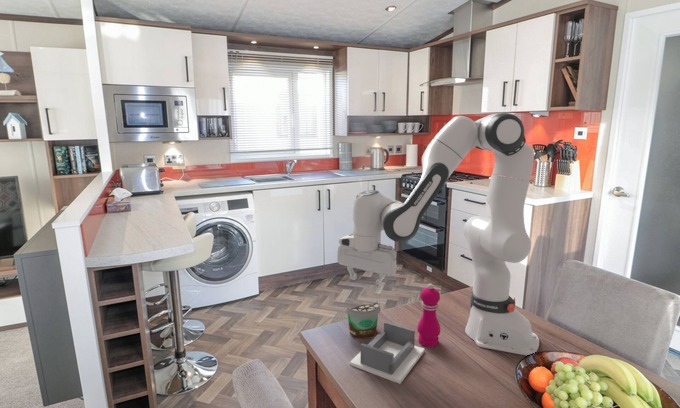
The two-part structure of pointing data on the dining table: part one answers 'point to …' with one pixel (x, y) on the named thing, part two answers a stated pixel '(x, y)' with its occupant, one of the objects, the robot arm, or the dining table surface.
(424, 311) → the pepper mill
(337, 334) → the dining table surface
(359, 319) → the food container
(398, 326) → the slot stand
